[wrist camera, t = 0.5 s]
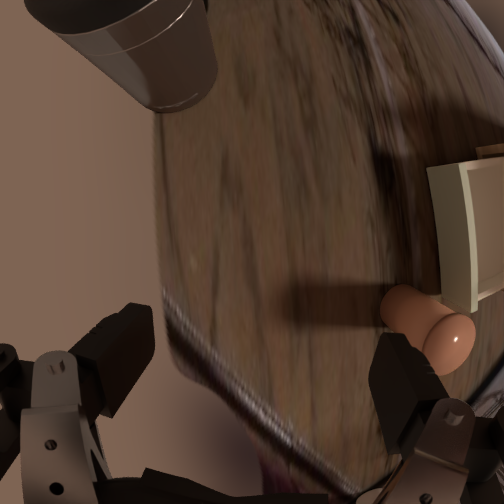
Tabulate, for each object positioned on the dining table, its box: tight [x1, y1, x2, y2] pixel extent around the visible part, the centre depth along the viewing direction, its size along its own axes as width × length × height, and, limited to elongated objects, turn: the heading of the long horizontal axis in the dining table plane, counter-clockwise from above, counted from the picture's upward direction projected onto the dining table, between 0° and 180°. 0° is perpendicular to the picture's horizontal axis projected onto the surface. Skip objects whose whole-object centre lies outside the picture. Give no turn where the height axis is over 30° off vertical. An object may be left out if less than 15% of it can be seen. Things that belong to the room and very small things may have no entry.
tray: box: [426, 156, 504, 313], centre depth 26 cm, size 15×13×6 cm
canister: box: [380, 284, 475, 375], centre depth 26 cm, size 6×6×11 cm
